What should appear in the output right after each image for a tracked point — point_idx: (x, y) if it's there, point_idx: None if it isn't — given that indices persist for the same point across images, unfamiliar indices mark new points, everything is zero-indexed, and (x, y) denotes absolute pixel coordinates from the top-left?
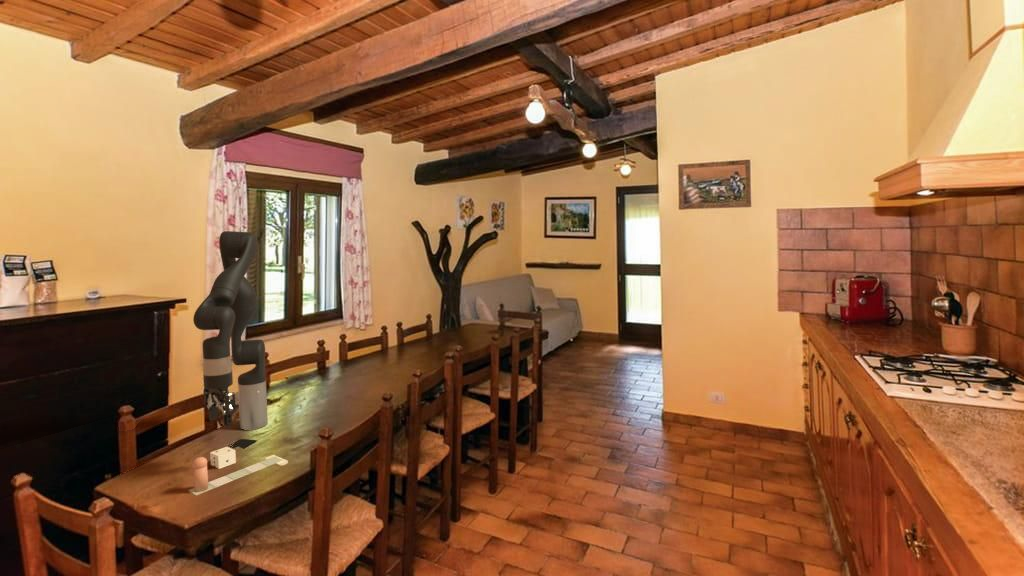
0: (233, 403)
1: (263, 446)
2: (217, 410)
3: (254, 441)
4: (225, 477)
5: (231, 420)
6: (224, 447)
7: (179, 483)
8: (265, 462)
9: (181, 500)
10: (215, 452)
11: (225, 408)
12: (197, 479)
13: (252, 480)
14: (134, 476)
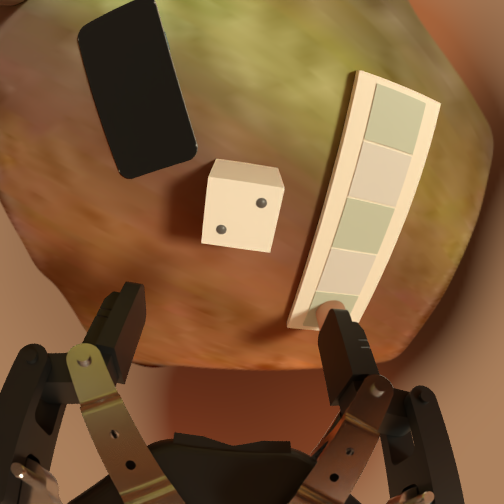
0: (441, 452)
1: (222, 11)
2: (122, 329)
3: (146, 7)
4: (341, 255)
5: (366, 340)
6: (208, 188)
7: (227, 303)
8: (385, 135)
9: (315, 336)
10: (222, 235)
11: (385, 450)
12: None
13: (410, 222)
14: (93, 314)
